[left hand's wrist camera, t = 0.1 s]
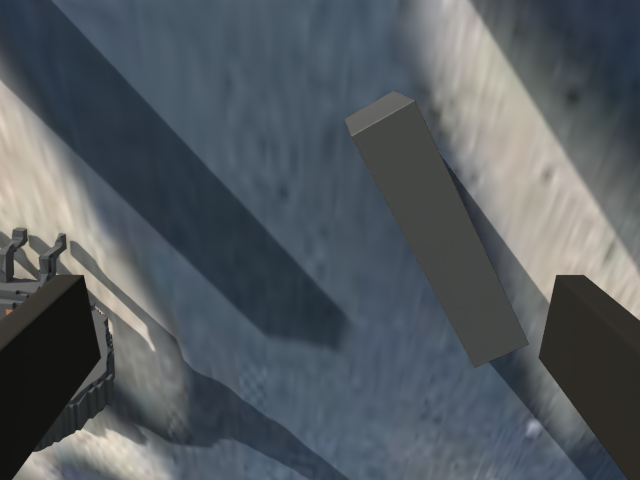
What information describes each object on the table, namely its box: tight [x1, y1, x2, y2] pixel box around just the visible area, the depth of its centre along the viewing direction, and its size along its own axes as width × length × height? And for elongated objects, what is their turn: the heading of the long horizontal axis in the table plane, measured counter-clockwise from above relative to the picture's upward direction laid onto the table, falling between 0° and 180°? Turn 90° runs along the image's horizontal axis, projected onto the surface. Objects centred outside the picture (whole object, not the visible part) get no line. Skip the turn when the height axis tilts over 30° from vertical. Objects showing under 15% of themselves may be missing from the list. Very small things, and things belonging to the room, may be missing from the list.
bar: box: [345, 91, 529, 368], centre depth 37 cm, size 21×5×9 cm, turn 29°
